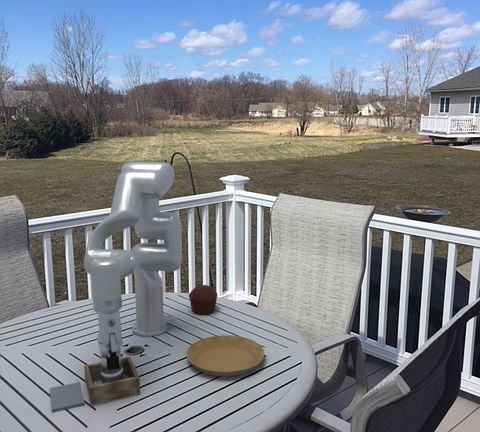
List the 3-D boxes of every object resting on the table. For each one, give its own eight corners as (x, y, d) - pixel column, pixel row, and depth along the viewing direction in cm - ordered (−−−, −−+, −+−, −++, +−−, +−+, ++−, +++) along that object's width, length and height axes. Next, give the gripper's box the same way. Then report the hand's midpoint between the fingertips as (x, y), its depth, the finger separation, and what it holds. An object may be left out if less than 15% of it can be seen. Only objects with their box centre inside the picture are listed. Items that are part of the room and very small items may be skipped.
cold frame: (130, 371, 143) (129, 356, 142) (140, 394, 132) (139, 377, 131) (85, 381, 138) (84, 365, 137) (91, 405, 126) (89, 388, 125)
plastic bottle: (129, 380, 137) (125, 314, 133) (115, 392, 131) (111, 324, 127) (109, 376, 139) (105, 311, 135) (95, 388, 133) (90, 321, 129)
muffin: (189, 305, 194) (188, 282, 192) (216, 304, 195) (216, 281, 193) (189, 317, 182) (188, 292, 180) (218, 316, 183) (218, 291, 182)
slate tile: (80, 384, 137) (79, 381, 136) (84, 404, 127) (84, 402, 127) (49, 390, 133) (49, 388, 133) (52, 412, 123) (51, 409, 123)
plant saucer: (227, 337, 167) (227, 328, 166) (280, 361, 150) (280, 351, 149) (171, 361, 150) (170, 351, 150) (223, 391, 133) (223, 380, 133)
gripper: (127, 312, 124) (131, 376, 128) (115, 290, 139) (119, 347, 143) (97, 317, 121) (102, 382, 125) (89, 294, 136) (93, 352, 140)
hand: (111, 363), depth 134 cm, fingers closed on plastic bottle, 5 cm apart
